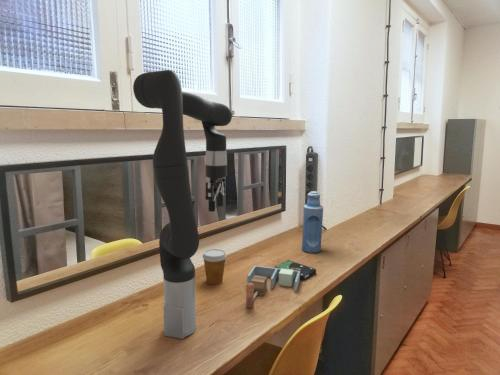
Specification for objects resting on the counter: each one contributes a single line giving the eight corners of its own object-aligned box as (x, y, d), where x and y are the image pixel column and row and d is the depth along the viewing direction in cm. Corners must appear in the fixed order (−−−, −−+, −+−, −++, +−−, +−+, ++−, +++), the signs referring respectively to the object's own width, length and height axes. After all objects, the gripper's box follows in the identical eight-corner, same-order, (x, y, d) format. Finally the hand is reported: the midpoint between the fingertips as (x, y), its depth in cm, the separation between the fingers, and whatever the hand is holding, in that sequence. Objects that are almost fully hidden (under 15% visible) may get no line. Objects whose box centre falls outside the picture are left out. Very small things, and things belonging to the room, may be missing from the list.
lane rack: (296, 292, 134) (296, 282, 134) (247, 285, 139) (247, 275, 138) (299, 280, 145) (300, 270, 144) (254, 274, 149) (254, 265, 149)
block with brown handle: (255, 309, 121) (256, 287, 120) (241, 306, 123) (242, 285, 121) (266, 289, 136) (267, 269, 135) (254, 287, 138) (254, 267, 136)
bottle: (319, 247, 184) (322, 190, 179) (321, 254, 174) (325, 194, 169) (301, 246, 185) (303, 189, 180) (302, 253, 175) (304, 193, 170)
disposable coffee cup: (229, 277, 146) (229, 249, 144) (221, 287, 137) (221, 258, 135) (208, 274, 148) (207, 247, 146) (198, 284, 139) (198, 255, 137)
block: (291, 286, 139) (291, 274, 138) (278, 285, 140) (279, 273, 139) (293, 281, 143) (293, 269, 143) (280, 280, 145) (281, 268, 144)
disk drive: (316, 275, 151) (287, 265, 161) (316, 268, 151) (288, 259, 160) (302, 282, 144) (273, 271, 153) (303, 276, 143) (274, 265, 153)
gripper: (219, 166, 117) (219, 214, 120) (232, 162, 130) (232, 205, 133) (198, 165, 119) (198, 212, 121) (213, 161, 132) (213, 203, 135)
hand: (216, 208), depth 127 cm, fingers open, 8 cm apart
